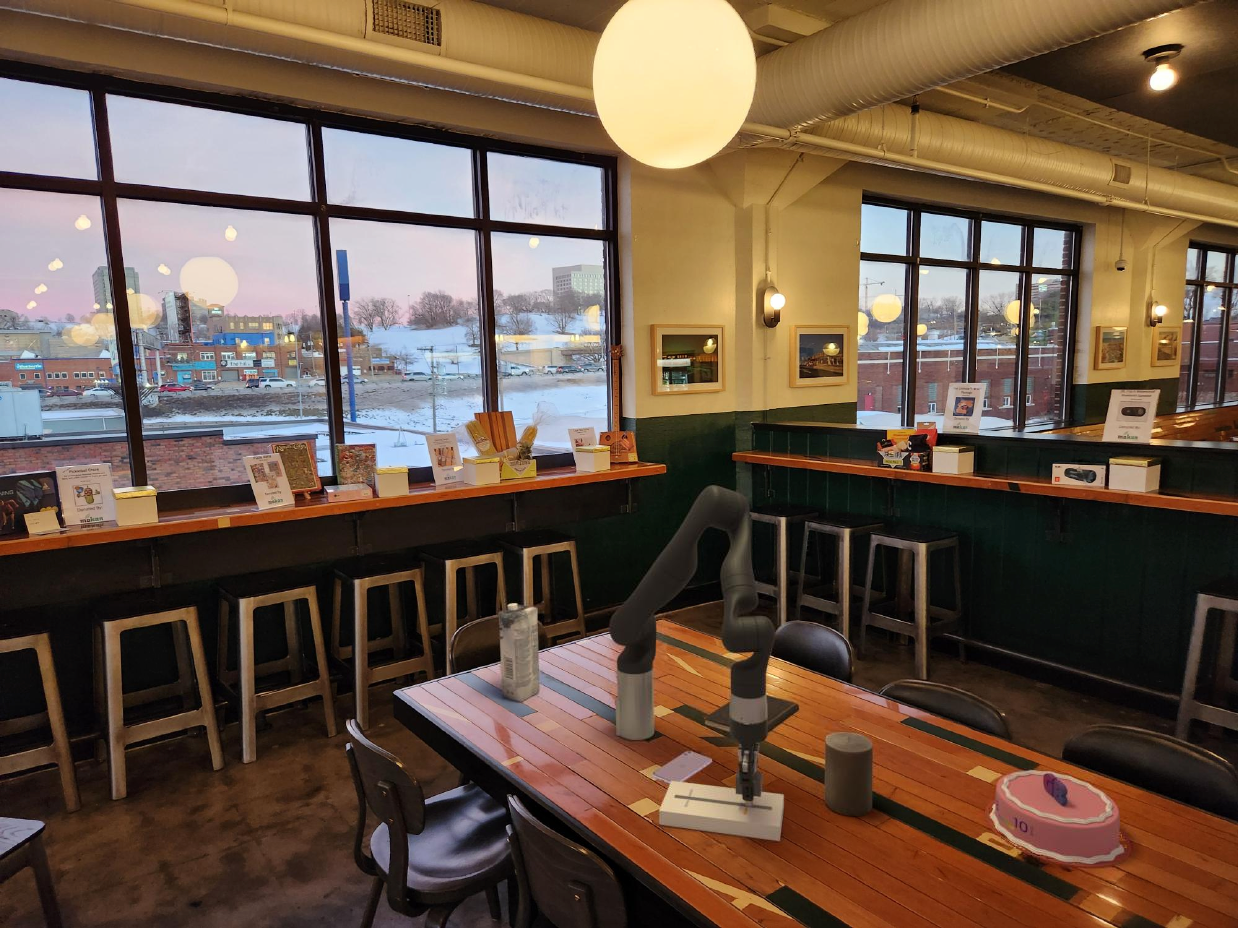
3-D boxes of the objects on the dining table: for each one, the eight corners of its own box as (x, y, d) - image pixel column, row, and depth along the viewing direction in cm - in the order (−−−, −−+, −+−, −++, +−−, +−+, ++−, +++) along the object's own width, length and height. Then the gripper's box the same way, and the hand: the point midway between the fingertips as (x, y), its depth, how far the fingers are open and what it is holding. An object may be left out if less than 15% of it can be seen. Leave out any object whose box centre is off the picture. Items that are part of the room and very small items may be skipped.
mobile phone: (649, 772, 173) (688, 748, 184) (649, 777, 173) (688, 752, 185) (676, 783, 168) (714, 758, 179) (676, 787, 168) (714, 761, 180)
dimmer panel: (659, 824, 154) (659, 809, 153) (671, 793, 165) (671, 780, 165) (779, 840, 147) (779, 825, 147) (783, 807, 159) (783, 793, 158)
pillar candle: (865, 821, 153) (866, 750, 152) (818, 808, 158) (818, 738, 157) (877, 799, 161) (878, 731, 160) (831, 787, 166) (832, 721, 165)
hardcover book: (703, 726, 199) (703, 717, 199) (747, 697, 217) (747, 689, 217) (757, 742, 189) (757, 734, 189) (799, 711, 207) (799, 703, 206)
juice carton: (544, 691, 223) (541, 602, 221) (521, 704, 214) (517, 611, 212) (521, 685, 228) (517, 598, 225) (497, 698, 219) (493, 607, 217)
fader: (735, 806, 153) (735, 776, 153) (737, 798, 156) (737, 769, 156) (760, 809, 152) (760, 779, 151) (762, 801, 155) (762, 771, 154)
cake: (962, 796, 162) (963, 749, 161) (1080, 794, 162) (1082, 746, 160) (1024, 870, 137) (1026, 814, 136) (1163, 868, 137) (1166, 812, 136)
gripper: (734, 698, 160) (734, 775, 162) (724, 726, 147) (725, 811, 148) (770, 701, 158) (770, 780, 160) (764, 730, 145) (764, 816, 146)
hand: (749, 794), depth 154 cm, fingers closed on fader, 3 cm apart
